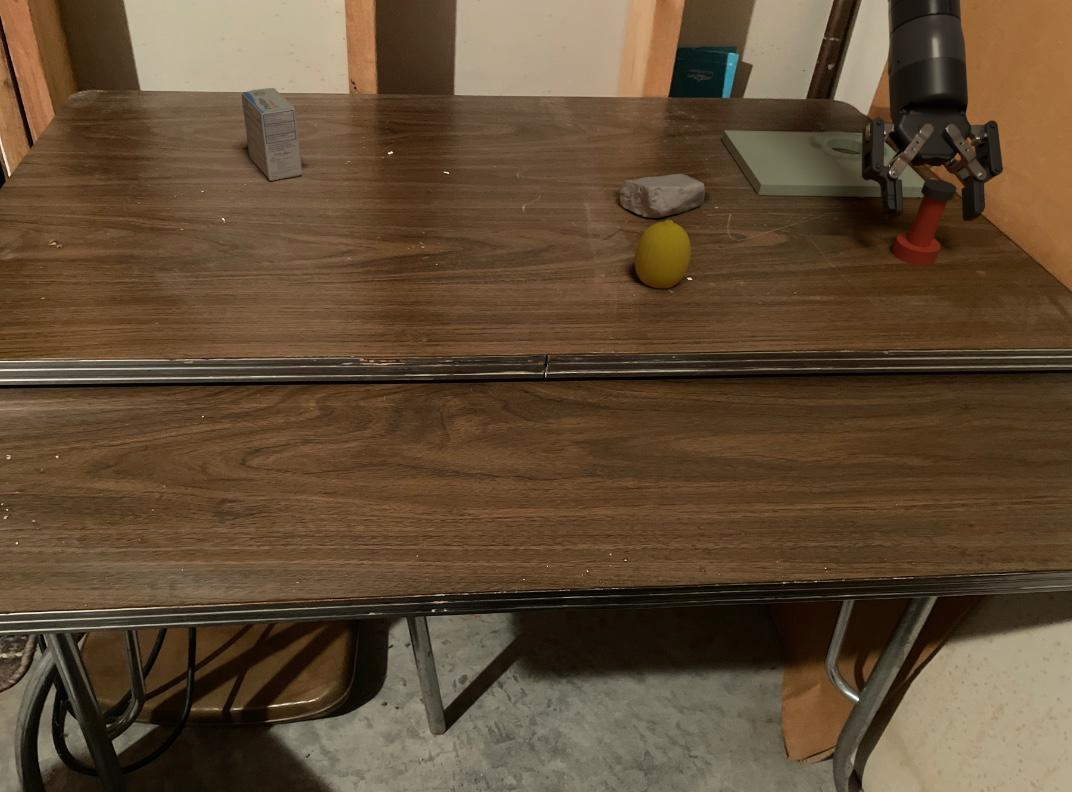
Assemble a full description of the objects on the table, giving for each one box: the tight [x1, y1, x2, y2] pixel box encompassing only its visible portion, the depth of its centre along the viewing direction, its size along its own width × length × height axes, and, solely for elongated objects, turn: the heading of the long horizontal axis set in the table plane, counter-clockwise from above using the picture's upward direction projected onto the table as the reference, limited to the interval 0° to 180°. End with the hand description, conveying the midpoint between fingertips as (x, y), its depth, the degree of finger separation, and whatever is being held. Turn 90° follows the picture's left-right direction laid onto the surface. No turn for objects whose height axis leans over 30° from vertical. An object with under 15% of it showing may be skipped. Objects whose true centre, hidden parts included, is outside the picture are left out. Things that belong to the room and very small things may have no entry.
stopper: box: [891, 178, 958, 266], centre depth 99 cm, size 5×5×10 cm
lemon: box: [634, 219, 692, 290], centre depth 93 cm, size 6×6×8 cm
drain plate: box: [721, 129, 926, 199], centre depth 122 cm, size 22×18×2 cm
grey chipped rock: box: [619, 173, 706, 219], centre depth 110 cm, size 10×6×6 cm, turn 109°
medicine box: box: [241, 87, 303, 182], centre depth 113 cm, size 8×4×9 cm, turn 28°
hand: (933, 218), depth 97 cm, fingers open, 8 cm apart
